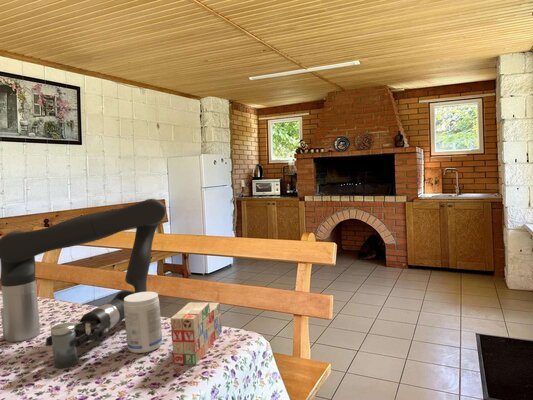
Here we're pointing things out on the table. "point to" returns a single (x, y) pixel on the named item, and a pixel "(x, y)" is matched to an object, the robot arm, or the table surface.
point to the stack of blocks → (194, 331)
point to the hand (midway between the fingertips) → (61, 343)
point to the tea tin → (64, 345)
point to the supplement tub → (142, 322)
